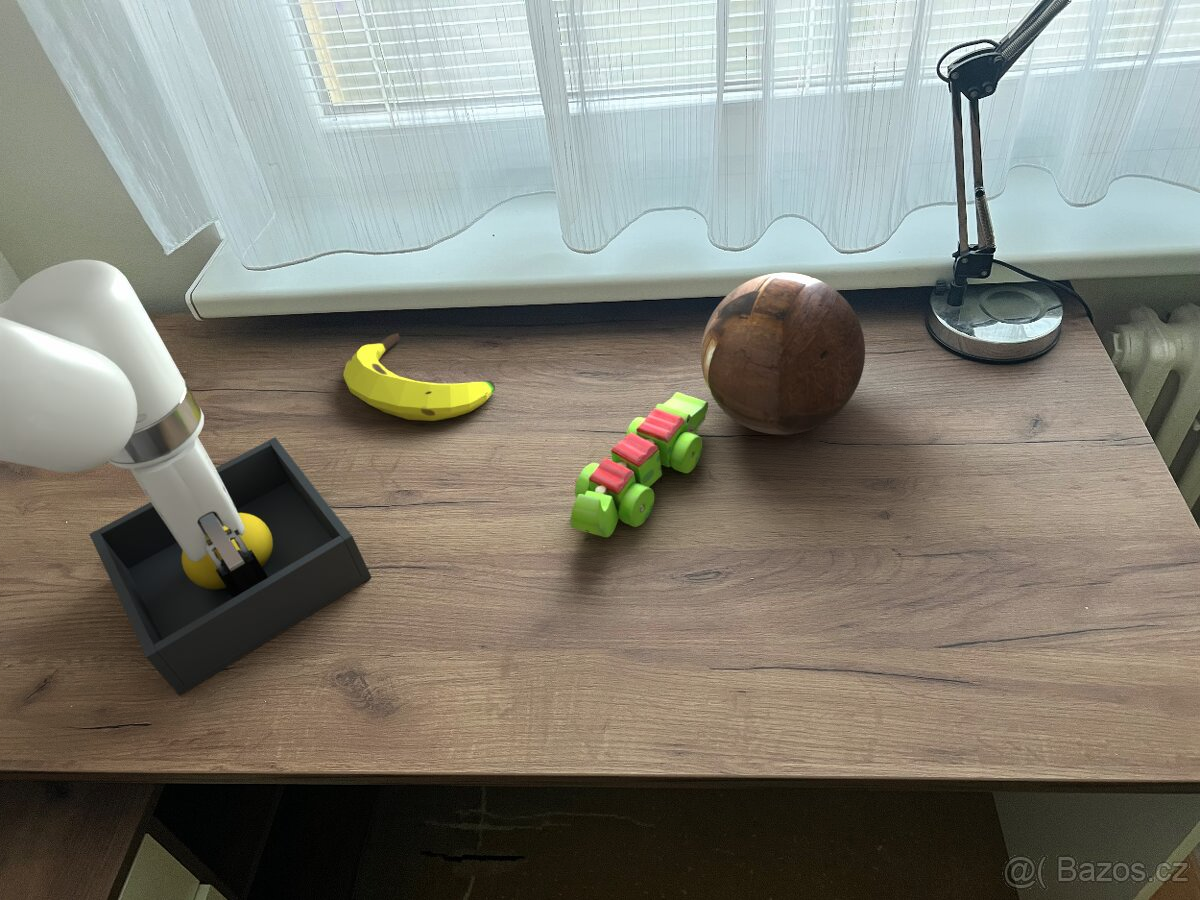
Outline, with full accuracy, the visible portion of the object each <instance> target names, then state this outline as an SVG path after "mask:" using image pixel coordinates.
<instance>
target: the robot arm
mask: <svg viewBox="0 0 1200 900" xmlns="http://www.w3.org/2000/svg"><path fill="white" fill-rule="evenodd" d="M204 424H205V415H204V413H203V411H202V408H201V407H200V406H199V403H198V401H197V400H196V398H195V397H194V394H193V392H192V391H191V389H190V388H189V385H188V384H187V382H186V381H185V379H184V377H183V376H182V374H181V372H180V370H179V369H178V366H177V365H176V363H175V361H174V359H173V357H172V356H171V354H170V351H168V349H167V347H166V344H164V341H163V340H162V337H161V336H160V334H159V332H158V330H157V329H156V327H155V325H154V323H153V321H152V320H151V318H150V316H149V315H148V313H147V311H146V310H145V307H144V306H143V304H142V302H141V301H140V298H139V297H138V295H137V293H136V291H135V289H134V288H133V286H132V285H131V284H130V281H129V280H128V278H127V277H126V275H125V274H124V273H122V271H120V270H119V269H118V268H117V267H115V266H114V265H112V264H110V263H108V262H105V261H101V260H96V259H76V260H75V259H74V260H69V261H65V262H62V263H58V264H55V265H52V266H50V267H46V268H44V269H43V270H40V271H39V272H37V273H35V274H33V275H32V276H29V277H28V278H27V279H26V280H24V281H23V282H22V283H21V284H19V286H18V287H17V288H16V289H15V290H14V292H13V293H12V295H11V297H10V298H8V299H7V300H5V301H3V302H2V303H0V462H1V461H2V462H5V463H6V462H7V463H11V464H16V465H22V466H28V467H32V468H38V469H42V470H48V471H51V472H56V473H63V474H72V473H74V474H75V473H80V472H81V473H82V472H86V471H89V470H93V469H96V468H98V467H100V466H102V465H104V464H105V463H109V464H110V465H111V466H113V467H116V468H118V469H119V468H120V469H125V470H129V471H130V472H131V475H132V476H133V477H134V479H135V480H136V482H137V484H138V485H139V487H140V489H141V490H142V492H143V493H144V495H145V496H146V498H147V499H148V500H149V503H150V502H151V503H152V505H153V506H154V508H155V509H156V511H157V512H158V514H159V515H160V517H161V518H162V520H163V521H164V523H165V524H166V526H167V527H168V529H169V530H170V532H171V533H172V535H173V536H174V538H175V539H176V541H177V542H178V544H179V545H180V547H181V548H182V550H183V551H184V553H185V554H186V556H187V557H188V559H189V560H191V561H196V562H197V561H199V560H200V559H202V558H204V557H206V551H207V553H208V554H209V556H210V557H211V559H212V560H213V562H214V563H215V565H216V567H217V568H218V569H216V572H217V574H218V575H219V577H220V578H221V580H222V581H223V583H224V584H225V586H226V587H227V589H228V590H229V592H230V593H231V595H232V596H233V598H234V597H236V596H238V595H239V594H241V593H243V592H245V591H246V590H248V589H250V588H251V587H253V586H255V585H256V584H258V583H260V582H262V581H263V580H265V579H267V578H268V576H267V575H266V573H265V571H264V570H263V568H262V566H261V565H260V563H259V561H258V560H257V558H256V556H255V555H254V553H253V551H252V550H250V551H249V550H248V549H247V547H246V546H245V544H244V542H243V541H242V539H241V537H240V536H239V535H241V536H243V534H244V531H245V527H244V525H243V523H242V521H241V518H240V516H239V514H238V512H237V510H236V508H235V506H234V504H233V502H232V500H231V498H230V496H229V494H228V492H227V490H226V488H225V486H224V484H223V482H222V480H221V478H220V476H219V474H218V472H217V470H216V468H217V467H216V466H215V465H214V462H212V459H211V457H210V456H209V454H208V452H207V450H206V448H205V447H204V445H203V443H202V441H201V440H200V439H199V435H200V434H201V432H202V430H203V427H204ZM224 526H225V527H227V528H229V529H227V530H224V529H223V527H224ZM206 536H209V537H210V539H209V540H207V541H206ZM233 539H234V540H235V542H236V544H237V545H238V547H239V550H236V548H235V546H234V545H233V543H232V542H231V540H233ZM215 549H217V550H218V552H219V553H220V555H221V557H222V558H223V559H221V560H220V558H219V557H218V555H217V554H216V552H215V551H214V550H215ZM240 550H241V551H240Z"/></svg>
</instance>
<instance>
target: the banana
mask: <svg viewBox="0 0 1200 900" xmlns="http://www.w3.org/2000/svg"><path fill="white" fill-rule="evenodd" d="M400 339H401V338H400V334H399V333H398V332H397V333H393V334H390V335H388V336H387V337H385V338H383V339H382V340H381V341H380V342H379V343H371V344H369V343H368V344H365V345H362V346H361V347H359V348H358V350H357V351H356V352H355V353H354V354H353V355H352V356H351V358H350V359H349V360H348V361H347V362H346V363H345V366H344V369H343V373H342V374H343V380H344V382H345V384H346V386H347V388H348V390H349V392H350V393H351V394H353V395H354V396H356V397H357V398H358V399H360V400H361V401H364V402H365V403H367V404H368V405H369V406H371V407H373V408H375V409H378V410H379V411H381V412H382V413H386V414H389V415H392V416H395V417H398V418H402V419H405V420H410V421H426V422H435V421H442V420H447V419H452V418H456V417H460V416H462V415H466V414H468V413H471V412H472V411H475V410H476V409H478V408H479V407H480V406H483V405H484V404H485V403H486V401H487V400H489V398H490V397H491V395H493V393H494V392H495V391H496V385H495V382H493V381H492V380H487V381H471V382H459V383H437V382H436V383H435V382H427V381H419V380H414V379H411V378H406V377H403V376H400V375H397V374H395V373H394V372H392V371H390V370H389V369H387V368H386V367H385V366H384V365H383V364H381V362H380V359H381V357H382V356H383V355H384V353H386V352H387V351H388V350H390V349H391V348H392V347H394V345H396V344H397V343H398V342H399V341H400Z"/></svg>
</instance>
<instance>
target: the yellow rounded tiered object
mask: <svg viewBox="0 0 1200 900" xmlns="http://www.w3.org/2000/svg"><path fill="white" fill-rule="evenodd" d="M238 514H239V516H240V518H241V521H242V523H243V525H244V527H245V531H244V534H243V536H241V535H239V536H240V537H241V539H242V541H243V542H244V544H245V546H246V547H247V549H248V550H249V551H250V550H252V551H253V553H254V555H255V556H256V558H257V560H258V561H259V563H260V565H261V566H262V567H263V566H264V565H265V564H266V562H267V561H268V559H269V557H270V555H271V552H272V548H273V539H272V535H271V532H270V530H269V528H268V527H267V525H266V524H265V523H264V522H263V521H262V520H261V519H259V518H257V517H256V516H253V515H250V514H246V513H238ZM223 529H224V530H227V529H229V528H227V527H225V526H224V527H223ZM209 539H210V537H209V536H206V541H207V540H209ZM231 542H232V543H233V545H234V546H235V548H236V550H239V547H238V545H237V544H236V542H235V540H234V539H233V540H231ZM214 551H215V552H216V554H217V555H218V557H219V558H220V560H221V559H223V558H222V557H221V555H220V553H219V552H218V550H217V549H215V550H214ZM240 551H241V550H240ZM182 565H183V569H184V571H185V573H186V575H187V576H188V577H189V579H190V580H191V581H193V582H194V583H195V584H197V585H199V586H201V587H203V588H207V589H214V590H215V589H223V588H227V587H226V586H225V584H224V583H223V581H222V580H221V578H220V577H219V575H218V574H217V572H216V569H218V568H217V567H216V565H215V563H214V562H213V560H212V559H211V557H210V556H209V554H208V553H207V551H206V557H204V558H202V559H200V560H199V561H197V562H196V561H191V560H189V559H188V557H187V556H186V554H185V553H184V551H183V552H182Z"/></svg>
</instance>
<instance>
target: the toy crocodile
mask: <svg viewBox="0 0 1200 900" xmlns="http://www.w3.org/2000/svg"><path fill="white" fill-rule="evenodd" d="M708 409H709V401H706V400H703V399H699V398H696V397H693V396H691V395H687V394H684V393H681V392H679V391H677V392H675V393H674V394H673V395H672V397H671V398H670V399H669V400H668V399H667V400H666V401H665V402H663V404H662V403H657V404H656V406H655V408H653V410H652V411H650V413H649V414H648V415H647V416H646V417H645V418H644V417H641V416H638V417H635V418H634V419H633V420H632V421H631V423H630V424H629V426H628V428H627V430H626V434H625V436H624V438H622V439H621V440H620V441H619V442H618V443H617V444H615V445H614V446H613V447H612V449H610V451H611V452H610V453H611V454H610V455H611V459H608V458H606V457H604V458H602V460H601V461H600V463H597V462H591V463H589V464H587V465H586V466H585V467H584V468H583V469H582V470H581V472H580V473H579V475H578V478H577V480H576V483H575V488H574V495H575V497H576V498H575V501H574V503H573V505H572V510H571V514H570V527H571V529H575V530H577V531H581V532H586V533H589V534H591V535H596V536H599V537H603V538H609V537H610V536H612V534H613V532H614V531H615V529H616V526H617V524H618V522H619V520H620V521H621V522H623V523H624V524H627V525H629V526H631V527H634V528H637V527H640V526H641V525H643V524H644V523H645V522H646V520H647V519H648V518H649V517H650V514H651V512H652V510H653V508H654V504H655V492H654V490H653V489H652V488H650V487H651V486H652V485H653V484H654V483H655V482H656V481H658V480H659V479H660V478H661V477H662V475H663V472H662V471H663V470H662V466H664V467H666V468H670V467H671V468H672V469H673V470H675V471H677V472H680V473H682V474H689V473H691V472H692V471H693V470H694V469H695V467H696V466H697V465H698V462H699V460H700V458H701V455H702V452H703V439H702V438H701V436H699V435H698V434H696V433H697V431H698V430H699V428H700V427H701V426H702V425H703V424H704V422H705V420H706V416H707V412H708Z"/></svg>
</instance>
